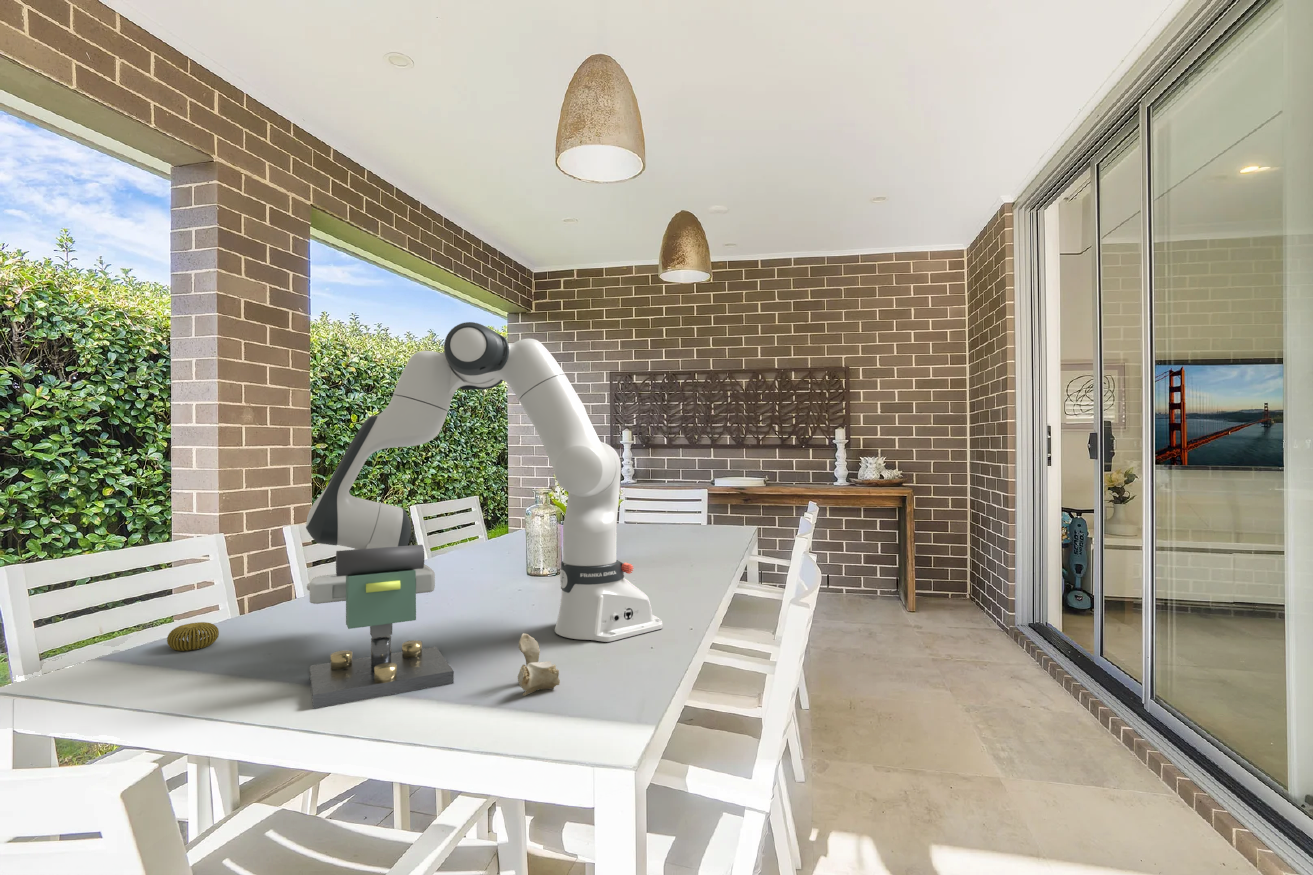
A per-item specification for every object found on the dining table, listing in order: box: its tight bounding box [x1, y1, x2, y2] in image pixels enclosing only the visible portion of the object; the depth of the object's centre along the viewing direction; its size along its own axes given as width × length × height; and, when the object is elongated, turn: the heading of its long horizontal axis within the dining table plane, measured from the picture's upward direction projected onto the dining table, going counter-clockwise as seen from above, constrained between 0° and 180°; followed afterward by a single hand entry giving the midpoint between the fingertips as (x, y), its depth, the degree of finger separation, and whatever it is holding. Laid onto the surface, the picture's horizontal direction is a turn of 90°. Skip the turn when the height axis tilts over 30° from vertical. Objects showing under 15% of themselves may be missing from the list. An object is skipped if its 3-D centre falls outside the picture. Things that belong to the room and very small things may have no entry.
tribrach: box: [309, 635, 455, 709], centre depth 105 cm, size 20×14×7 cm
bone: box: [517, 633, 561, 696], centre depth 101 cm, size 9×6×10 cm
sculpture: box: [166, 621, 220, 652], centre depth 122 cm, size 8×4×8 cm
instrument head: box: [335, 544, 425, 638], centre depth 105 cm, size 13×6×14 cm, turn 120°
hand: (378, 593), depth 107 cm, fingers closed, pressing on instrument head
